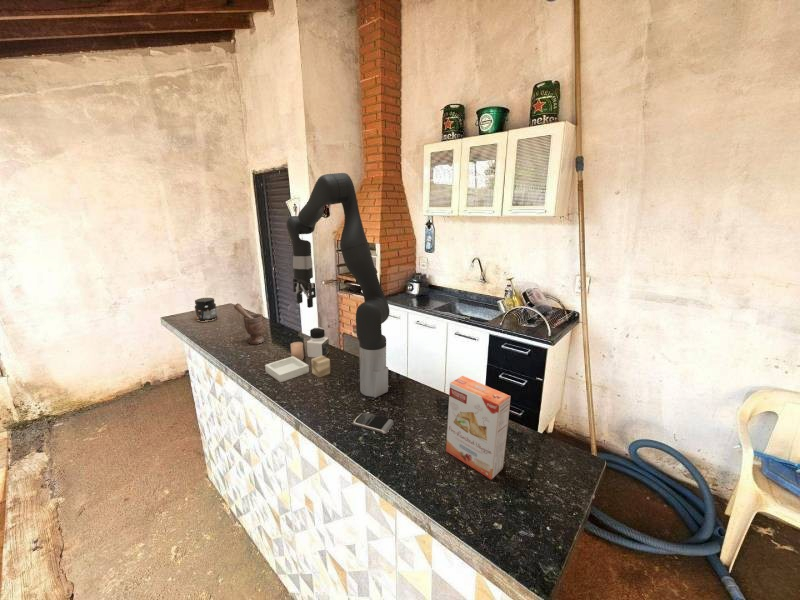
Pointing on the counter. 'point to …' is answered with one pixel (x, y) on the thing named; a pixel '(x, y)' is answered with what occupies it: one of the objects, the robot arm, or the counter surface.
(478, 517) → the counter surface
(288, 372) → the white tray
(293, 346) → the peach rounded capsule
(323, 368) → the maple block
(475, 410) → the cracker box
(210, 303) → the supplement container
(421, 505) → the counter surface
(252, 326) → the mortar and pestle
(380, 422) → the cell phone
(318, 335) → the medicine bottle
